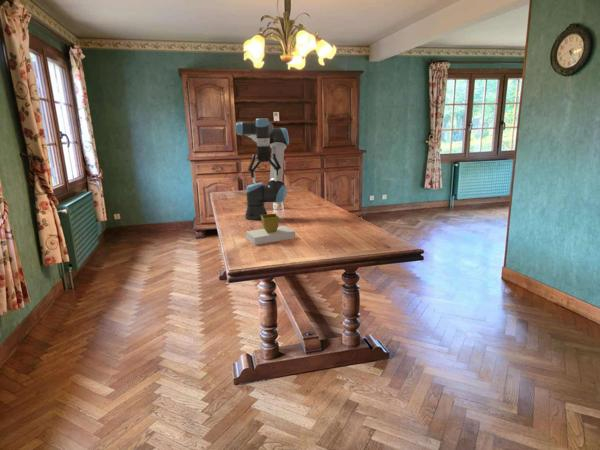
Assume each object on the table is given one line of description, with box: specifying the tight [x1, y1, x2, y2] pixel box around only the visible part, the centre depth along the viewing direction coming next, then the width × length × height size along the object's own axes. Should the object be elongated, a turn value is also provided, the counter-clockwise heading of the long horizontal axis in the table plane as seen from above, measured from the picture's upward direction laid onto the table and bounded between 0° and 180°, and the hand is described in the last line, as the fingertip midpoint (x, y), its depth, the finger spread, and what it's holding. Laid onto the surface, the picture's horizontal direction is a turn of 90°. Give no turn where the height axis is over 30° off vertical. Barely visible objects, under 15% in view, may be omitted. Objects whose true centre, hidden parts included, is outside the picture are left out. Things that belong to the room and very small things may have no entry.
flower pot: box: [260, 213, 280, 233], centre depth 216 cm, size 9×9×9 cm
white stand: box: [245, 225, 296, 246], centre depth 217 cm, size 14×24×4 cm, turn 117°
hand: (265, 182), depth 230 cm, fingers open, 13 cm apart
